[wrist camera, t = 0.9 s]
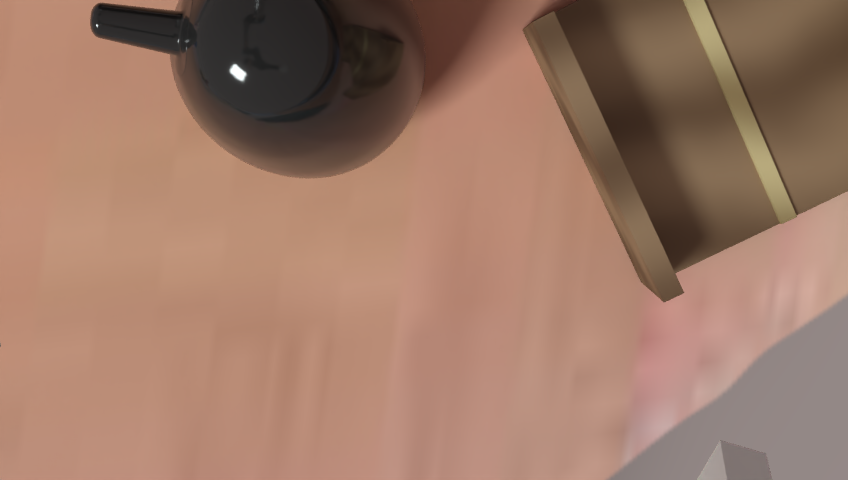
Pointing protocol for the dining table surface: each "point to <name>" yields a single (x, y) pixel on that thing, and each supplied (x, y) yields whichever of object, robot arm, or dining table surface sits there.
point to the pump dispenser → (287, 74)
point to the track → (701, 117)
